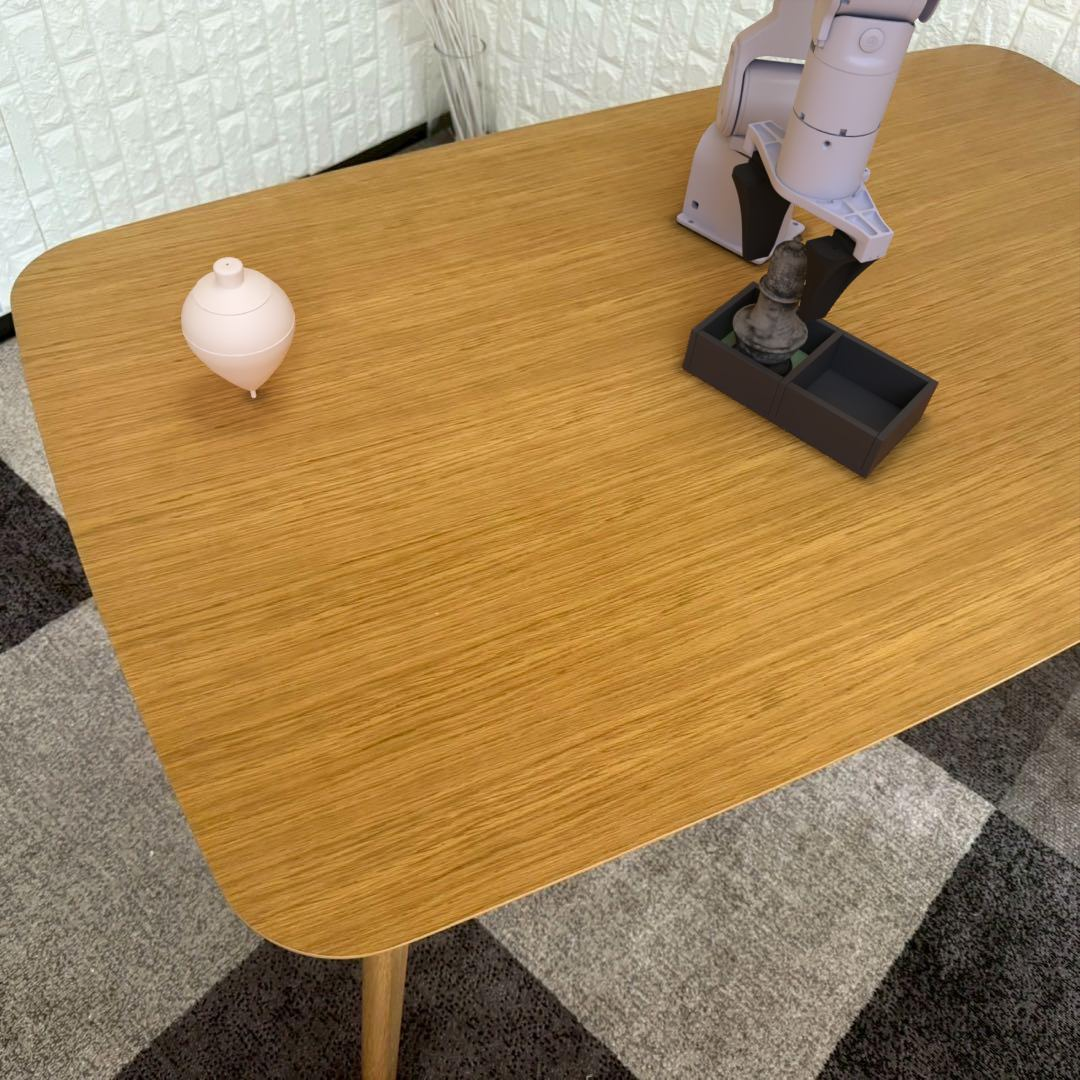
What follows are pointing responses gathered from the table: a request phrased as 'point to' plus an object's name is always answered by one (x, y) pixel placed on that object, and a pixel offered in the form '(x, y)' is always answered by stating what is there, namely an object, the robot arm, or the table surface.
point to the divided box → (816, 386)
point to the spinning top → (238, 323)
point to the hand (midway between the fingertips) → (782, 286)
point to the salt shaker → (775, 311)
